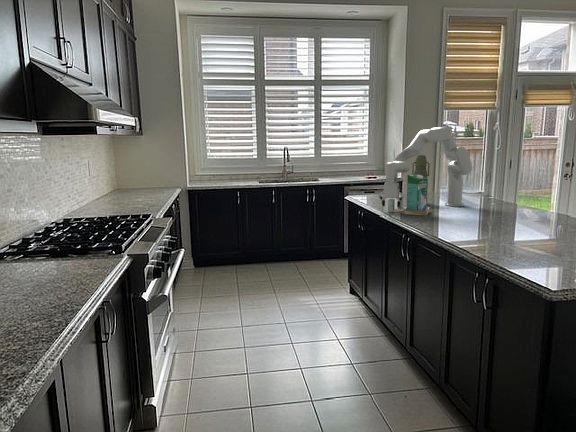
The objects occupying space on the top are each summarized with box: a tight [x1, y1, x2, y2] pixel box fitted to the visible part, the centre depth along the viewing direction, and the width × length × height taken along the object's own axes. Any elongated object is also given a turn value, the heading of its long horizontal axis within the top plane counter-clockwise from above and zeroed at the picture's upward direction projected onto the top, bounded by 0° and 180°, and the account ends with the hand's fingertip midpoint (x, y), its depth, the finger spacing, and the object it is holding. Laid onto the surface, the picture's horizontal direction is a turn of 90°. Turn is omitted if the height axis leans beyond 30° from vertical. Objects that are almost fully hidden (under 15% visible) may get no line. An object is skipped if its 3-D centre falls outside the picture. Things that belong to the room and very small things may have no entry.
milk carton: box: [406, 174, 429, 210], centre depth 283 cm, size 9×9×25 cm
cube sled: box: [397, 196, 407, 210], centre depth 298 cm, size 8×15×8 cm, turn 64°
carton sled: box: [387, 198, 431, 216], centre depth 287 cm, size 14×25×8 cm, turn 64°
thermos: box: [411, 154, 430, 178], centre depth 319 cm, size 9×12×35 cm
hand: (390, 206), depth 292 cm, fingers open, 9 cm apart
